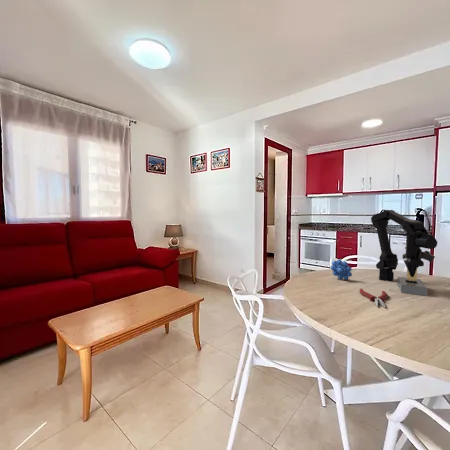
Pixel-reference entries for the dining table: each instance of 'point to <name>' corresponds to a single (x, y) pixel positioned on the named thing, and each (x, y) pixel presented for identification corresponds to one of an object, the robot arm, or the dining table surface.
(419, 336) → the dining table surface
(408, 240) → the robot arm
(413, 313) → the dining table surface
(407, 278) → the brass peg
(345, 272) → the grapes
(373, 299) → the pliers
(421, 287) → the grey block with hole
